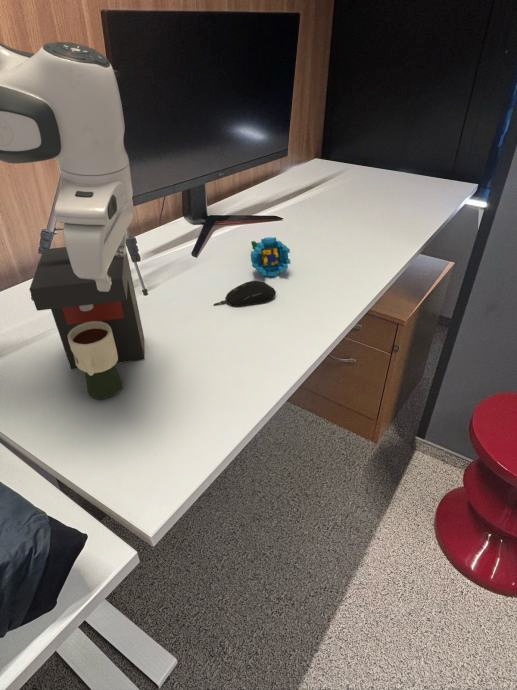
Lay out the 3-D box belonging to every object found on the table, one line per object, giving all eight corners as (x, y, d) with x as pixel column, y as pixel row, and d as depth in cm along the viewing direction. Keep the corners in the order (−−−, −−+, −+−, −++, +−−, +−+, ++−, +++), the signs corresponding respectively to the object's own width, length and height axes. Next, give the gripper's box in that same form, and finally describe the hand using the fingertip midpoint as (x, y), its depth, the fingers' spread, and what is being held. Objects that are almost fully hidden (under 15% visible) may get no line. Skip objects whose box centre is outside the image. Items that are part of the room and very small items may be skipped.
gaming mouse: (210, 298, 112) (209, 283, 110) (270, 287, 116) (270, 272, 113) (217, 312, 107) (215, 297, 105) (279, 300, 111) (279, 285, 108)
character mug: (91, 372, 92) (73, 315, 84) (128, 369, 92) (115, 312, 84) (80, 413, 83) (60, 354, 75) (122, 409, 84) (106, 351, 76)
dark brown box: (66, 393, 87) (29, 289, 74) (74, 347, 98) (43, 249, 85) (144, 382, 89) (122, 279, 76) (144, 338, 100) (124, 241, 87)
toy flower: (273, 260, 134) (291, 275, 118) (242, 264, 132) (256, 280, 116) (271, 227, 131) (290, 238, 114) (239, 231, 129) (253, 242, 113)
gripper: (96, 155, 73) (109, 237, 82) (48, 216, 57) (72, 309, 67) (137, 158, 73) (146, 239, 82) (101, 219, 58) (117, 311, 67)
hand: (113, 271), depth 74 cm, fingers open, 8 cm apart
